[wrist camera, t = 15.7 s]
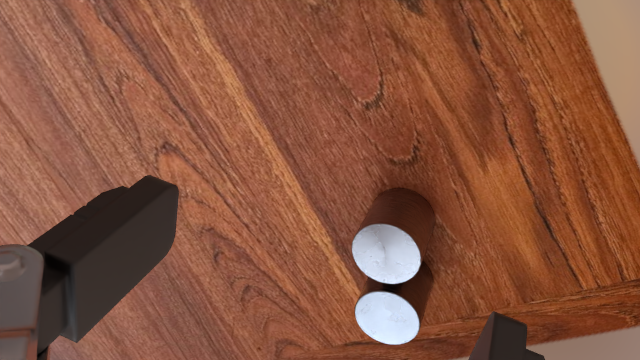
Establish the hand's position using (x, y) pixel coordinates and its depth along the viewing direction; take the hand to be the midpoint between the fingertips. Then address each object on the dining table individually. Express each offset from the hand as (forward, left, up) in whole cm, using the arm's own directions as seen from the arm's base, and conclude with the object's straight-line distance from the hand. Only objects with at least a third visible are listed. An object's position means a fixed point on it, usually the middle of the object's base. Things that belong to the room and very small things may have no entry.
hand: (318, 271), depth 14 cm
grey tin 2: (+22, +11, -32) cm, 40 cm away
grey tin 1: (+17, +7, -32) cm, 37 cm away
